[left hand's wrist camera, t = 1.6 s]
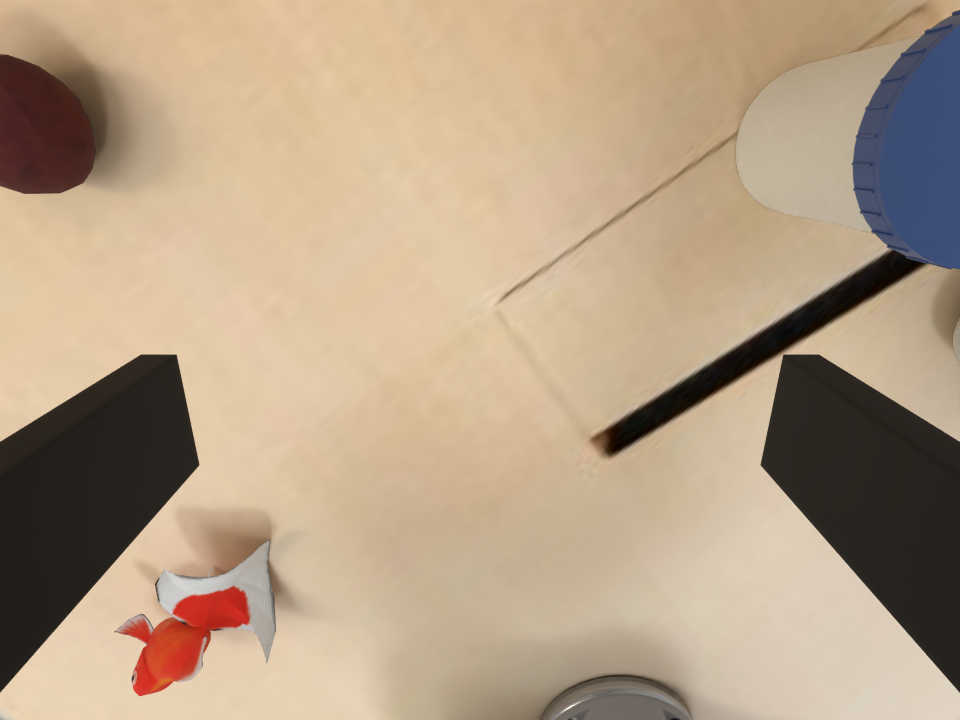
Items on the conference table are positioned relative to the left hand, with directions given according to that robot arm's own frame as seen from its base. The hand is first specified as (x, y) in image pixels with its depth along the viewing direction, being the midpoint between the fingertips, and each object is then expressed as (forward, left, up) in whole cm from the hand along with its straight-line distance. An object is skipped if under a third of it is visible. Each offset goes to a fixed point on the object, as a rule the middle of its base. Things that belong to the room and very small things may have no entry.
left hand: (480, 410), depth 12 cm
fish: (-30, +23, -28) cm, 47 cm away
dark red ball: (+6, +27, -28) cm, 39 cm away
